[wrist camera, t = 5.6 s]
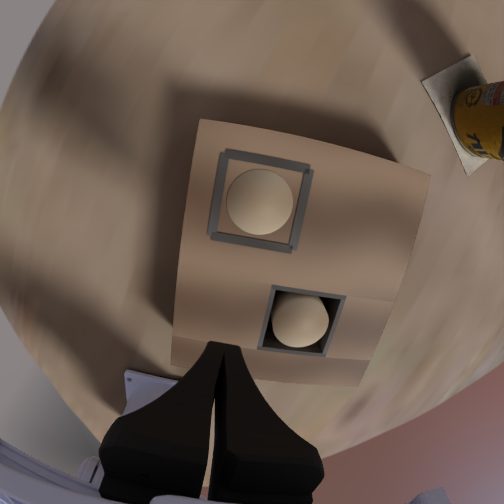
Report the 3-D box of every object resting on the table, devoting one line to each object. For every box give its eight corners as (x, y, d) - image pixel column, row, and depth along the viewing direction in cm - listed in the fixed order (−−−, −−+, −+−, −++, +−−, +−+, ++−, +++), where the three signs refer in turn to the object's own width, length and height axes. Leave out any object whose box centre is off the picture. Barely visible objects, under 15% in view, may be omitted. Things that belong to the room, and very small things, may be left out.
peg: (309, 320, 23) (319, 349, 20) (264, 314, 23) (267, 343, 19) (321, 278, 22) (335, 303, 18) (274, 270, 22) (279, 295, 18)
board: (345, 356, 25) (358, 387, 21) (181, 334, 24) (170, 365, 20) (402, 170, 20) (431, 175, 16) (209, 125, 19) (199, 118, 15)
